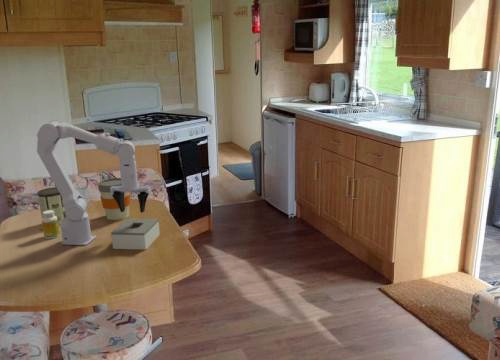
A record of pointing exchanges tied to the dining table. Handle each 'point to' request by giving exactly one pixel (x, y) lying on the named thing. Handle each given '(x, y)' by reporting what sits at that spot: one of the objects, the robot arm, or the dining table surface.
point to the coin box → (135, 234)
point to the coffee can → (52, 203)
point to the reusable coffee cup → (113, 200)
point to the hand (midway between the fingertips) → (132, 211)
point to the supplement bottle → (50, 225)
